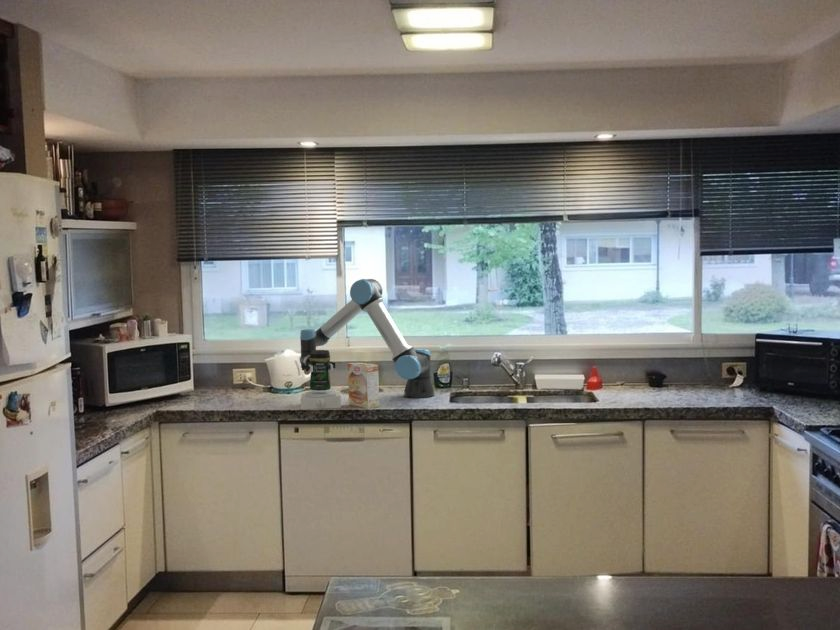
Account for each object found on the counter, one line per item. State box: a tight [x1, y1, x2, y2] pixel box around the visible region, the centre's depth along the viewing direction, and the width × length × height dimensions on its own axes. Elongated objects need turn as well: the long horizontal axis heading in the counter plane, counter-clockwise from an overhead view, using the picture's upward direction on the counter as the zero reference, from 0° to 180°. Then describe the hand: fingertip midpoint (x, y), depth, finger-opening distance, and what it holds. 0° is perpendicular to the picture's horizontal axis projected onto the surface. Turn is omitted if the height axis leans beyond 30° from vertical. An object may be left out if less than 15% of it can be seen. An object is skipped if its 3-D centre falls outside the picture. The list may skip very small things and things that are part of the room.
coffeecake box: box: [347, 361, 380, 409], centre depth 354 cm, size 15×7×20 cm, turn 40°
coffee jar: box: [309, 349, 332, 391], centre depth 355 cm, size 10×8×19 cm
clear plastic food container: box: [300, 389, 342, 410], centre depth 355 cm, size 18×16×6 cm
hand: (322, 368), depth 350 cm, fingers closed on coffee jar, 9 cm apart
